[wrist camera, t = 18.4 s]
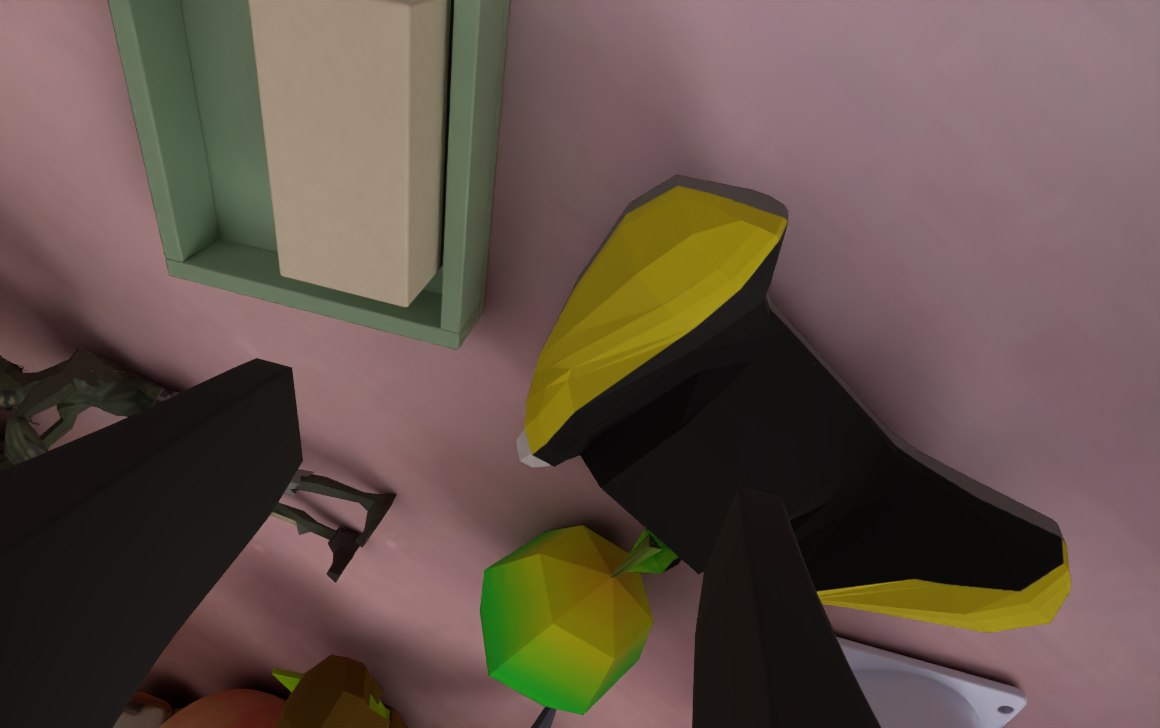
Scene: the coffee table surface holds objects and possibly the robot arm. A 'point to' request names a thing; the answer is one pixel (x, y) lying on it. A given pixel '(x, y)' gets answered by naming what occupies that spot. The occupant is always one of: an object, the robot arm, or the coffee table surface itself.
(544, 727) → the goblin
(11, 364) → the zombie figurine
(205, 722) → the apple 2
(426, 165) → the eraser
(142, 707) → the ornament
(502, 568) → the apple
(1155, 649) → the coffee table surface
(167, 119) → the tray
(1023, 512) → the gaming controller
